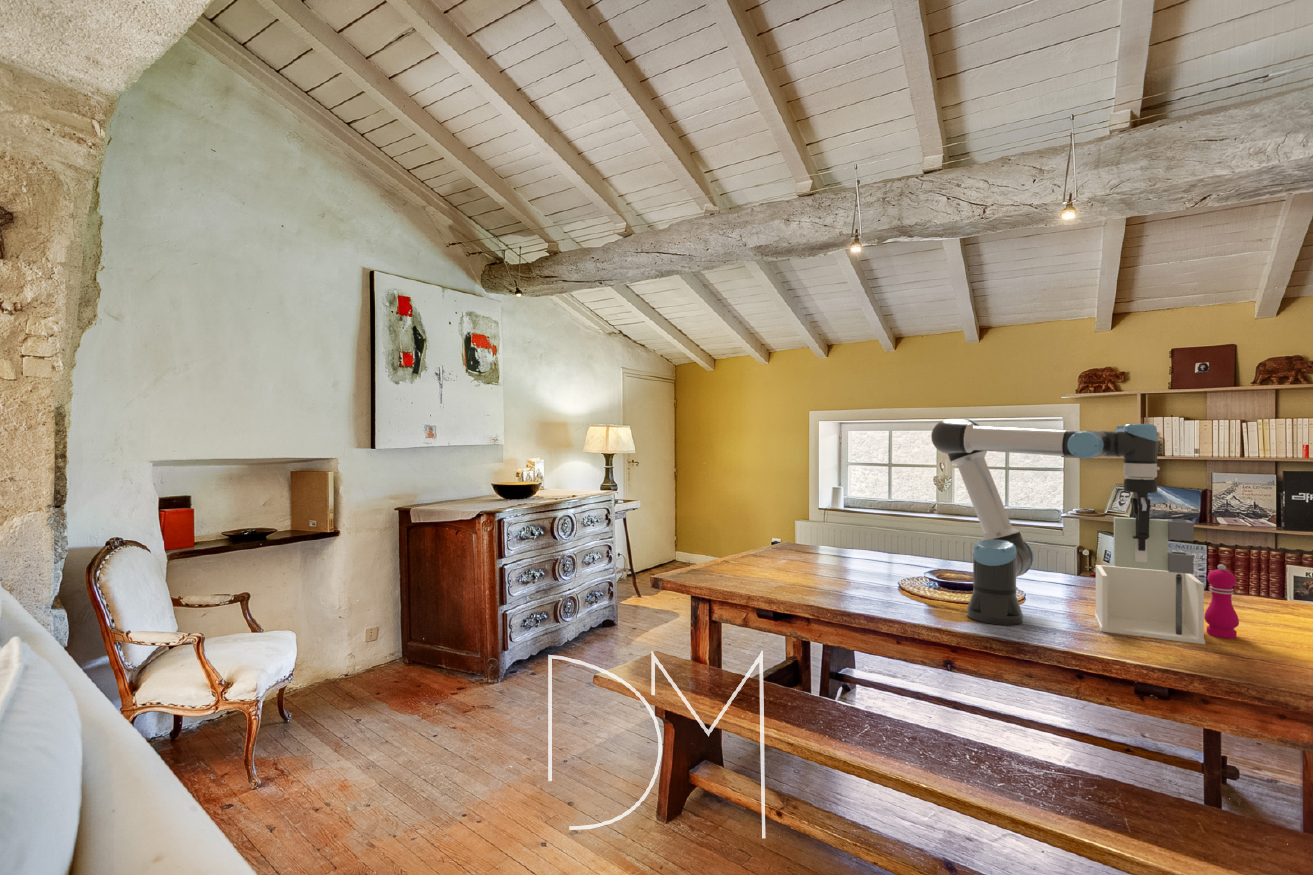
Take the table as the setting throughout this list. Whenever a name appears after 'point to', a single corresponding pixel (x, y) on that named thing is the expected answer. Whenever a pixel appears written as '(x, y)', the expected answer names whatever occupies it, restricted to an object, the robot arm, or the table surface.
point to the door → (1154, 545)
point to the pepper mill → (1221, 604)
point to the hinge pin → (1179, 604)
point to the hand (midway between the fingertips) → (1140, 560)
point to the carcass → (1148, 603)
